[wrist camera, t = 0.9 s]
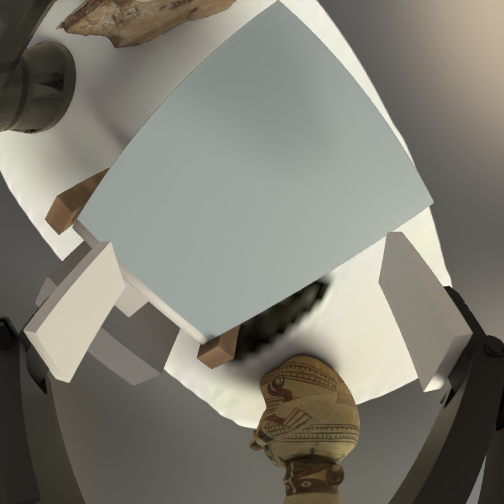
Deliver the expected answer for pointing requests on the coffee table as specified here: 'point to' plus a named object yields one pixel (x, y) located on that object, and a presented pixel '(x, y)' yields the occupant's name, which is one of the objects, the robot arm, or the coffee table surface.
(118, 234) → the trapdoor
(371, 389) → the coffee table surface
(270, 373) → the ceramic vessel
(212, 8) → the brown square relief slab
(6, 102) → the robot arm
